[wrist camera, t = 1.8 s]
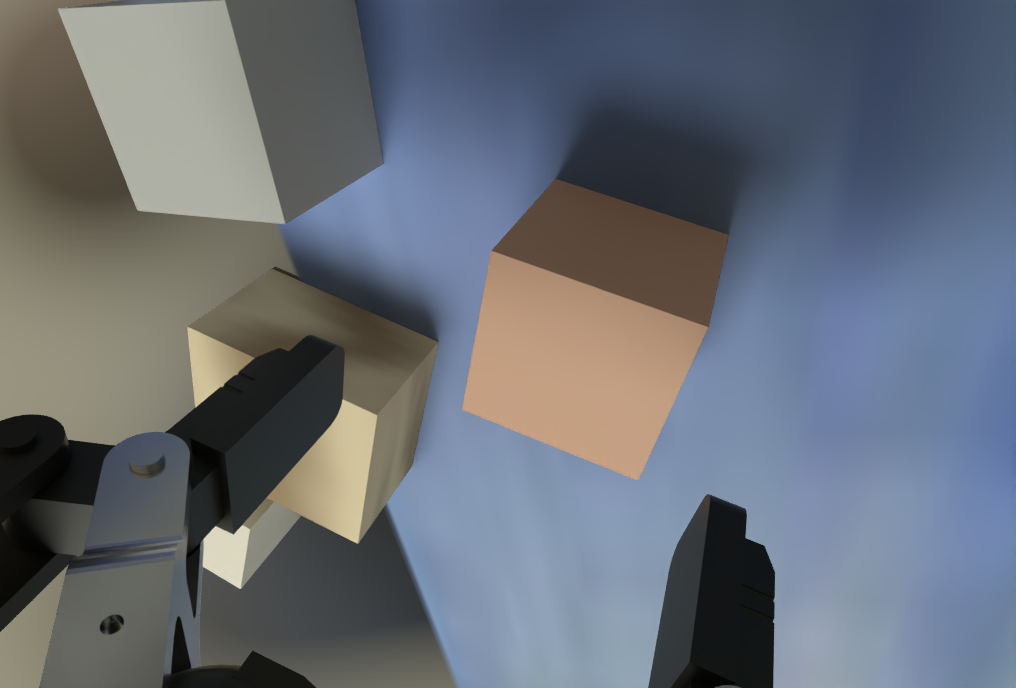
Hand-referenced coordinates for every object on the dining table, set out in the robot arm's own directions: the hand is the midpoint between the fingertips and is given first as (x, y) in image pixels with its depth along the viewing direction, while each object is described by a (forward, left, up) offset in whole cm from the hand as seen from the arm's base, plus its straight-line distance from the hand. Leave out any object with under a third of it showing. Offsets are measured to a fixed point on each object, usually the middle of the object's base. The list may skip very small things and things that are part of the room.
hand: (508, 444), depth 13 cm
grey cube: (+10, -3, -8) cm, 13 cm away
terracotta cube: (-1, 0, -8) cm, 8 cm away
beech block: (+8, +8, -8) cm, 14 cm away
